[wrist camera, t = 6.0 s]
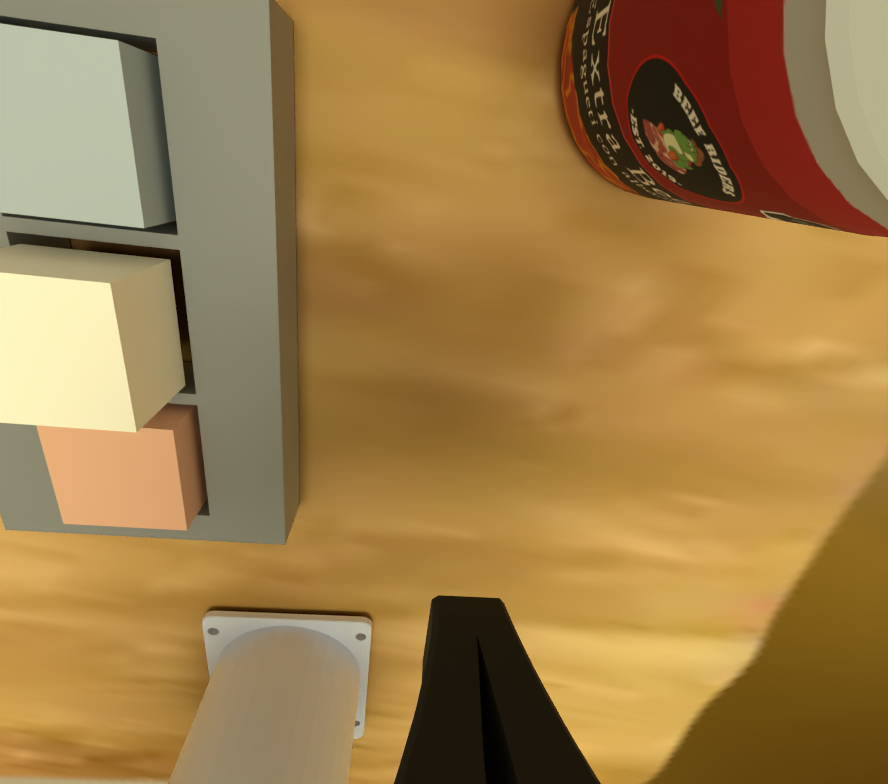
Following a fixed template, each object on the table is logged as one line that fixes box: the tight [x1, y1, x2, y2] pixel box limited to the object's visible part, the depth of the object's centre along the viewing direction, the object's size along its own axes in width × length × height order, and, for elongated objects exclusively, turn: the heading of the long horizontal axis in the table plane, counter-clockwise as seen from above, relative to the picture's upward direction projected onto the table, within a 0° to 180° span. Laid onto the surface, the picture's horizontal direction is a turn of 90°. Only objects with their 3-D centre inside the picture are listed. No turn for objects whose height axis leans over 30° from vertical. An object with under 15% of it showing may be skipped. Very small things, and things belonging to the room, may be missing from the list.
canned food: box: [561, 0, 888, 237], centre depth 10 cm, size 8×8×11 cm
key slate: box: [0, 23, 176, 228], centre depth 13 cm, size 4×4×3 cm
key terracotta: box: [36, 403, 208, 531], centre depth 17 cm, size 4×4×3 cm
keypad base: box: [0, 0, 300, 545], centre depth 16 cm, size 17×10×2 cm, turn 173°
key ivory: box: [0, 244, 185, 433], centre depth 13 cm, size 4×4×3 cm
